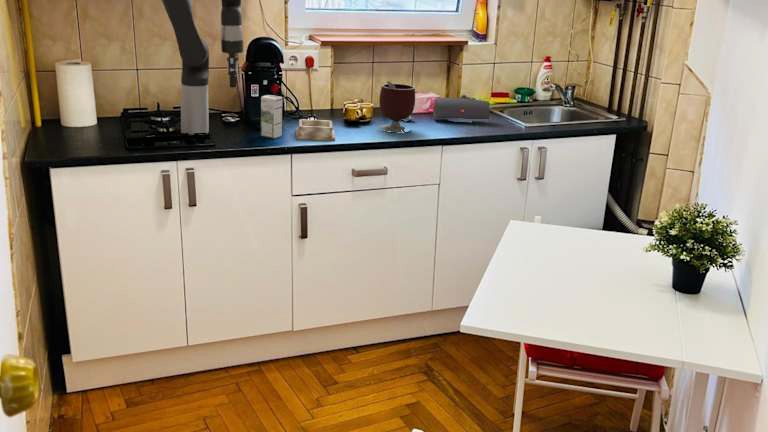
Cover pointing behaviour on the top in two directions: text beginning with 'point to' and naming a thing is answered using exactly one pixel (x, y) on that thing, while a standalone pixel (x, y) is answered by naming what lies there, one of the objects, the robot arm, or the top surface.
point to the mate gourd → (396, 104)
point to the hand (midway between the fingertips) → (233, 85)
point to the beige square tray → (315, 130)
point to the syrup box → (271, 116)
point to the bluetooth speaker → (461, 108)
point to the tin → (357, 101)
